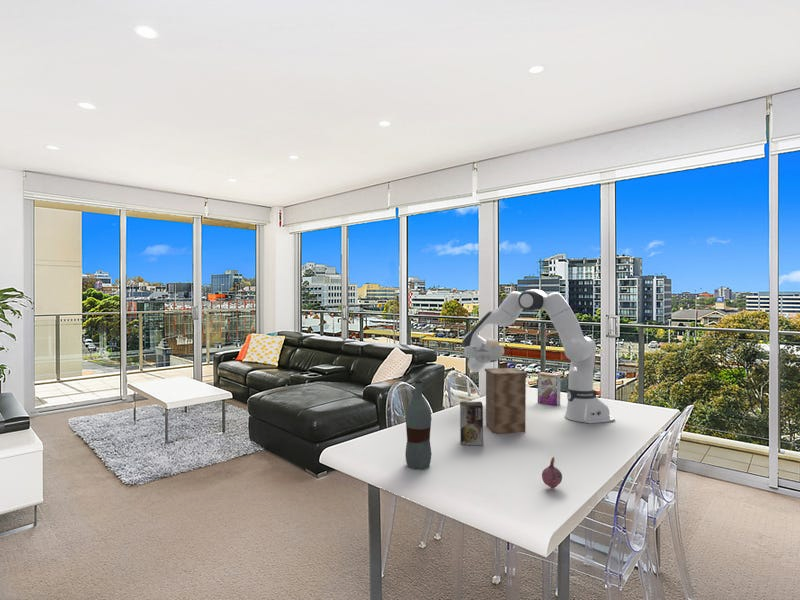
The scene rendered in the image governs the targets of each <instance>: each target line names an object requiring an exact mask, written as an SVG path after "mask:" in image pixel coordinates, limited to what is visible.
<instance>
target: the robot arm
mask: <svg viewBox="0 0 800 600" xmlns="http://www.w3.org/2000/svg"><path fill="white" fill-rule="evenodd" d="M523 310H524V311H527V312H538V311H542V310H543V311H545V313H546V314H547V316H548V317H549V319H550V321H551V323H552V325H553V327H554V328H555V330H556V332H557V333H558V336H559V339H560V341H561V344H562V348H563V349H564V350H563V351H564V355H565V357H566V358H567V359H568V360H570V364H569V370H568V387H567V392H566V393H567V394H566V395H567V396H566V397H567V405H566V410H565V414H564V418H565V419H567V420H569V421H570V420H571V421H574V422H581V423H585V424H597V423H606V422H607V423H609V422H615V421H616V419H615V417H614V416H612V415H611V414H610V409H609V407H608V405H607V404H605V403H604V402H603V401H602V400H600V399H599V398H598V397H599V396H601V394H602V392H600V391H599V390H595V389H594V369H595V361H596V351H597V344H596V343H595V341H594V340H593V339H592V338H590V337H588V336H584V334H583V331H582V330H583V329H582V328H581V325H580V322H579V320H578V318H577V316H576V315H575V313H574V311H573V310H572V307H571V306H570V305H569V303H568V301H567V300H566V299H565V298H564V297H563V295H562V294H561V293H559V292H555V291H554V292H551V293H548V292H547V291H545V290H543V289H536V288H534V289H533V288H532V289H526V290H523V291H522V292H519V291H517V290H516V291H510V293H508V294H507V296H505V298H504V299H503V301H502V302H501V303H500V304H499V306H498V308H495V309H494V310H490V311H488V312H487V313H486V314H485V315H484V316H483V317H482V318H481V319H480V320H479V321H478V322H477V323H476V324H475V326H474V327H473V328H472V329H471V330H470V331H469V332H468V333H466V334H465V335H464V337H463V339H462V341H461V342H462V346H463V348H464V352H463V353H462V357H464V358H467V359H468V360H467V361H468V362H467V367H468V369H469V370H470V371H471V372H472V373H478V372H480V371H481V370H482V369H483V368H484V367H485V366H486V365H487V364H490V363H493V362H498V361H499V359H500V358H501V357H503V355H504V354H505V348H504V346H503V345H499V346H500V352H489V351H487V350H484V349H482V348H483V347H484V346H483V344H481V342H486V341H487V339H485V338H483V337H482V336H480V335H479V334H480V332H481V331H482V330H483V329H484V327H486V326H487V325H495V326H501V327H508V326H511V325H513V324H514V323H516V321H517V319H518V318H519V316H520V314H521V313H522V312H523ZM597 396H598V397H597Z"/></svg>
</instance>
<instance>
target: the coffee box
mask: <svg viewBox="0 0 800 600" xmlns="http://www.w3.org/2000/svg"><path fill="white" fill-rule="evenodd" d="M459 427H460V428H459V431H460V434H459V438H460V439H459V441H460V442H459V443H460V445H461V446H484V406H483V403H482V401H459Z"/></svg>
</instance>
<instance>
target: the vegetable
mask: <svg viewBox="0 0 800 600" xmlns="http://www.w3.org/2000/svg"><path fill="white" fill-rule="evenodd" d="M541 480H542V481H543V483H544V484H545V486H548V487H550V488H551V489H555V488H556V487H557V486H559V485H560V484H561V483H562V480H563V474H562V472H561V470H560V469H559V468H557V467H556V466H555V456H552V458H551V459H550V464H549V465H548V466H547V467H545V468H544V469H543V470H542V472H541Z"/></svg>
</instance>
